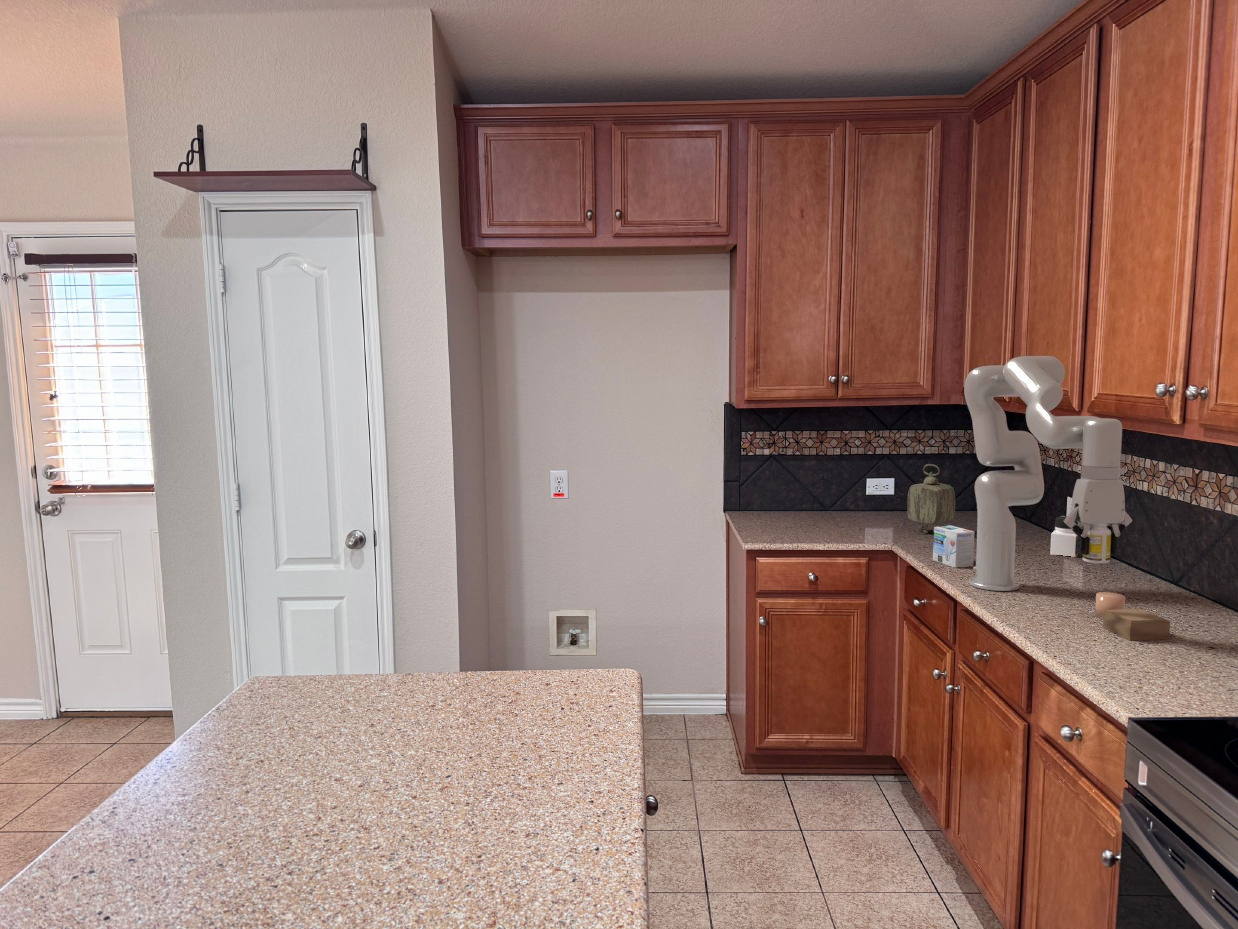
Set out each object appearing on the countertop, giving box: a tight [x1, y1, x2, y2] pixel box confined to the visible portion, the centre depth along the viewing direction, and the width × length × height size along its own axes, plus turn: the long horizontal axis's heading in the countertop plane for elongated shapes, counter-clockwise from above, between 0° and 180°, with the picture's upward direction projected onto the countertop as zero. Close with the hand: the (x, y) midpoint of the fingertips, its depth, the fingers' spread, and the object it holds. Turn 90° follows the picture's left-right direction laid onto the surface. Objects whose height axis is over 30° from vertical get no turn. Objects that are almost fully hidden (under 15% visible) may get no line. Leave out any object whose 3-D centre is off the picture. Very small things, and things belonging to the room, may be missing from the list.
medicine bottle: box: [1049, 515, 1079, 558], centre depth 260 cm, size 7×7×12 cm
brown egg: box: [1094, 591, 1126, 619], centre depth 197 cm, size 6×6×5 cm
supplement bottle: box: [1082, 524, 1111, 564], centre depth 185 cm, size 5×5×10 cm
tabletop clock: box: [906, 463, 956, 535], centre depth 295 cm, size 14×9×25 cm, turn 32°
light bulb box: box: [932, 525, 976, 568], centre depth 250 cm, size 11×7×11 cm, turn 18°
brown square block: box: [1102, 608, 1171, 641], centre depth 184 cm, size 9×9×4 cm
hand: (1096, 552), depth 185 cm, fingers closed on supplement bottle, 5 cm apart
